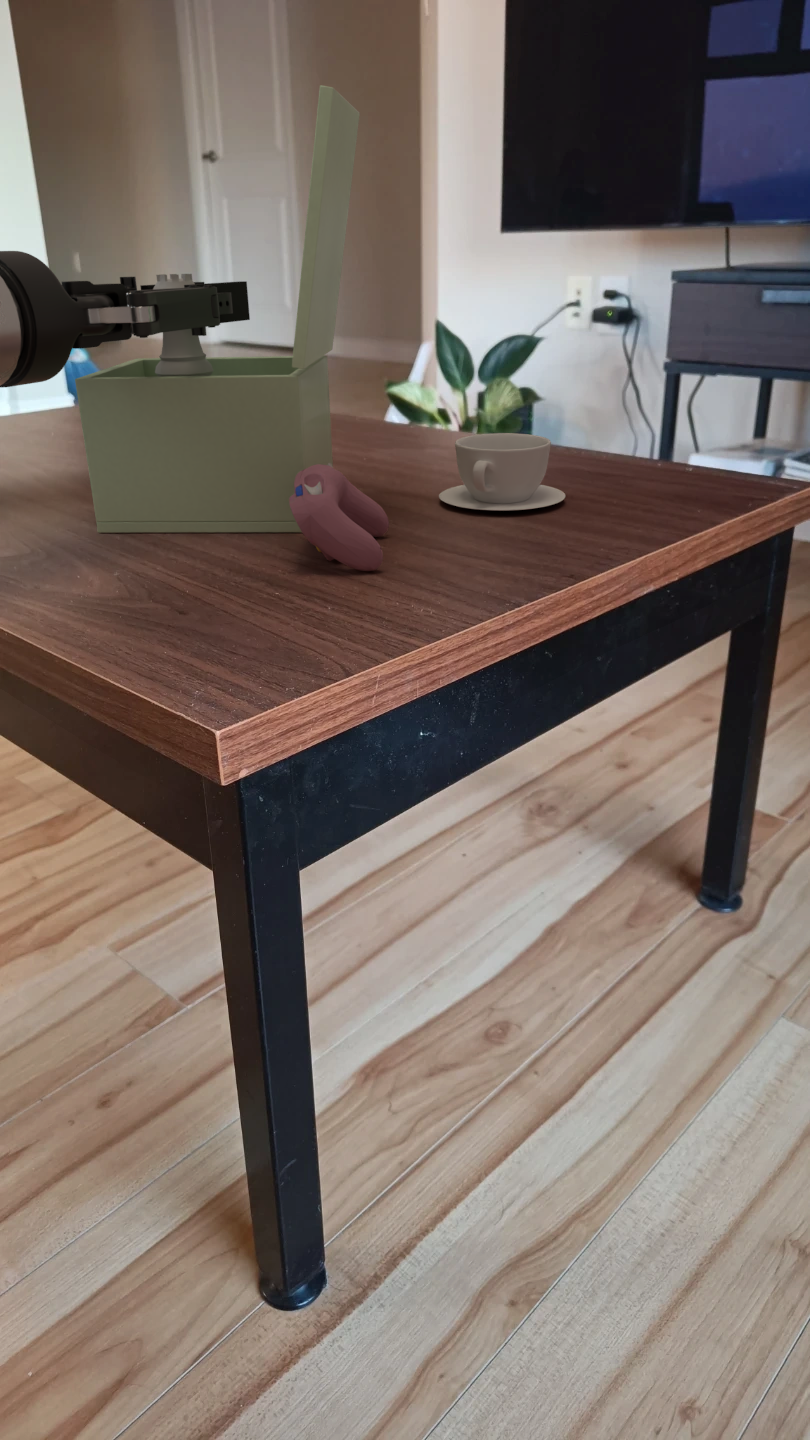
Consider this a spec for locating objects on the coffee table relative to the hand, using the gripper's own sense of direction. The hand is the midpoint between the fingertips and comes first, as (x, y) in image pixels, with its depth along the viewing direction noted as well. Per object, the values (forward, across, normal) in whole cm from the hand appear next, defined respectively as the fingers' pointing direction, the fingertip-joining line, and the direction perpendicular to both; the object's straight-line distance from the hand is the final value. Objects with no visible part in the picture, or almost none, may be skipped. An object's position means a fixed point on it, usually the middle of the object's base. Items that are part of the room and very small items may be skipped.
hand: (222, 300), depth 79 cm
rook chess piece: (-5, 0, -6) cm, 8 cm away
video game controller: (-12, +17, -15) cm, 25 cm away
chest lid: (-1, +10, +4) cm, 11 cm away
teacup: (+6, +21, -15) cm, 27 cm away
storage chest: (-5, +2, -15) cm, 16 cm away
